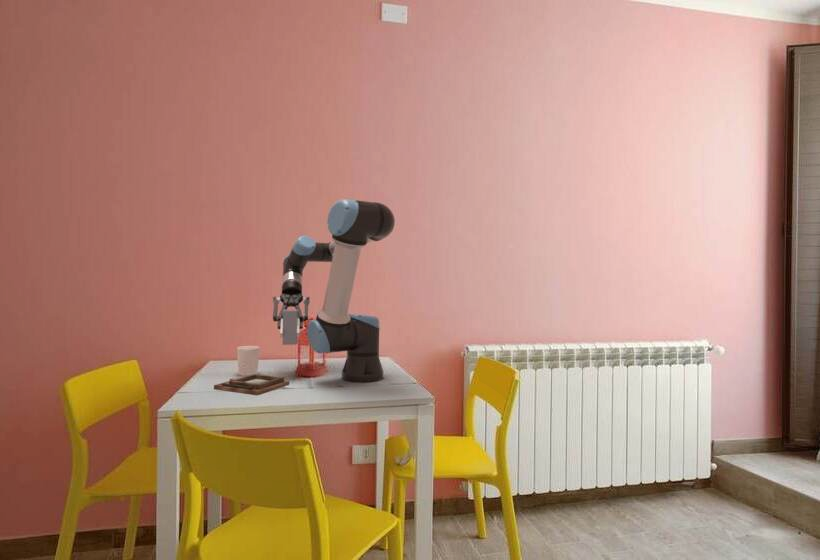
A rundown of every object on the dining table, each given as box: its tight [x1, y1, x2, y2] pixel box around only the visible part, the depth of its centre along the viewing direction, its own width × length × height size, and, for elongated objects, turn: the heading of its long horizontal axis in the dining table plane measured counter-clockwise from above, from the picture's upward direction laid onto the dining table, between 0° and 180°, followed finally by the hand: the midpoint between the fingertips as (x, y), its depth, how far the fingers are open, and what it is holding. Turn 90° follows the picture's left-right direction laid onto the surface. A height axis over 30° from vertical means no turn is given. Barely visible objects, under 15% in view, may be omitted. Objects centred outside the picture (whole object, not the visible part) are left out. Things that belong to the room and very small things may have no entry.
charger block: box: [282, 309, 299, 346], centre depth 182 cm, size 5×5×12 cm
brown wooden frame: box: [213, 373, 290, 396], centre depth 169 cm, size 18×16×3 cm
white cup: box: [236, 345, 260, 377], centre depth 189 cm, size 8×8×10 cm
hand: (289, 335), depth 178 cm, fingers closed on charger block, 5 cm apart
